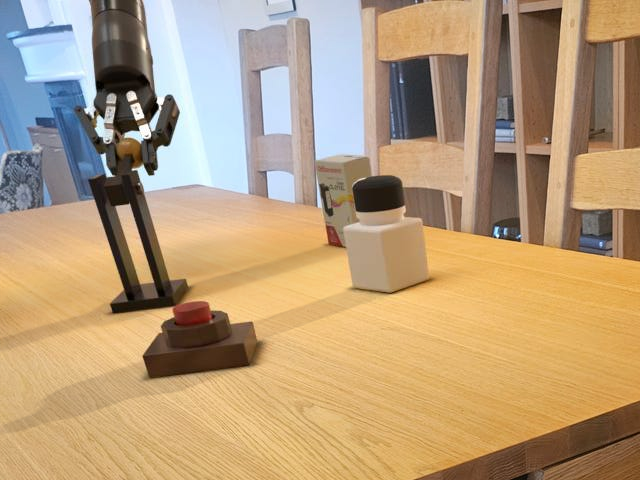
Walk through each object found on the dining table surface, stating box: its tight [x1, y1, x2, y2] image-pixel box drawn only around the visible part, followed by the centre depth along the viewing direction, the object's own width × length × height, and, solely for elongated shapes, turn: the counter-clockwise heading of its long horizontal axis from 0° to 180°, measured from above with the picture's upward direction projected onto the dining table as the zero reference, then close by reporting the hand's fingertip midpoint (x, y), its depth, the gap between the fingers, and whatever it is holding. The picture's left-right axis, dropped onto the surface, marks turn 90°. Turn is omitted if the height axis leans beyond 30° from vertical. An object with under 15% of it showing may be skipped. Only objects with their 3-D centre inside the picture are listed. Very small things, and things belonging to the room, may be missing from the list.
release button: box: [171, 300, 213, 326], centre depth 83 cm, size 4×4×2 cm
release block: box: [141, 309, 258, 379], centre depth 85 cm, size 10×8×4 cm
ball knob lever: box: [104, 137, 144, 207], centre depth 107 cm, size 15×4×4 cm, turn 7°
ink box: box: [313, 153, 373, 248], centre depth 126 cm, size 9×5×12 cm, turn 40°
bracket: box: [87, 169, 189, 314], centre depth 106 cm, size 10×8×15 cm
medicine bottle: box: [343, 174, 430, 294], centre depth 102 cm, size 7×7×12 cm
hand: (133, 172), depth 110 cm, fingers closed on ball knob lever, 3 cm apart
